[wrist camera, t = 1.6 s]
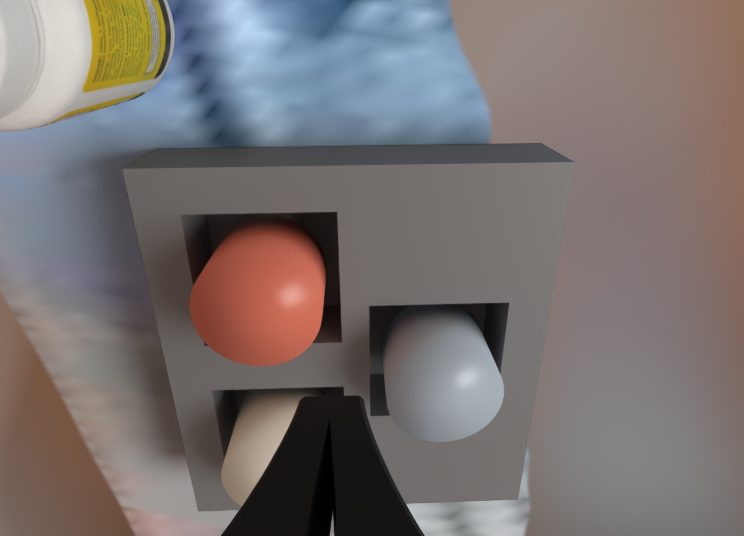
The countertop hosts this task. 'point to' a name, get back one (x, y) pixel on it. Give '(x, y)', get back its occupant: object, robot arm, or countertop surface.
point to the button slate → (439, 373)
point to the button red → (261, 292)
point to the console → (363, 285)
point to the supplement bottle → (78, 56)
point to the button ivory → (258, 436)
